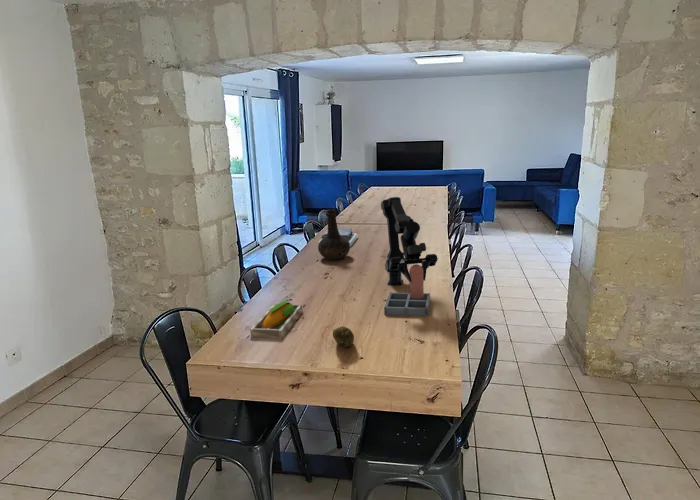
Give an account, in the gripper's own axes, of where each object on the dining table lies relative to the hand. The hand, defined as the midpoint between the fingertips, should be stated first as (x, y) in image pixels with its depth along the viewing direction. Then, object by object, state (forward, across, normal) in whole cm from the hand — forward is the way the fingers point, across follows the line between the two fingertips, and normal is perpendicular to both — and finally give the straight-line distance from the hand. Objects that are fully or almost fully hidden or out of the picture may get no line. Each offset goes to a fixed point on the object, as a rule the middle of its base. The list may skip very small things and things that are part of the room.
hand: (417, 280), depth 188 cm
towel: (-77, -17, +97) cm, 125 cm away
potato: (+25, -32, -6) cm, 41 cm away
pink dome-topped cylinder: (+4, 0, +6) cm, 7 cm away
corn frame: (+7, -55, +12) cm, 57 cm away
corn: (+8, -54, +12) cm, 56 cm away
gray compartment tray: (+5, -2, +14) cm, 15 cm away
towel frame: (-77, -17, +97) cm, 125 cm away
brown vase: (-52, -23, +72) cm, 92 cm away
